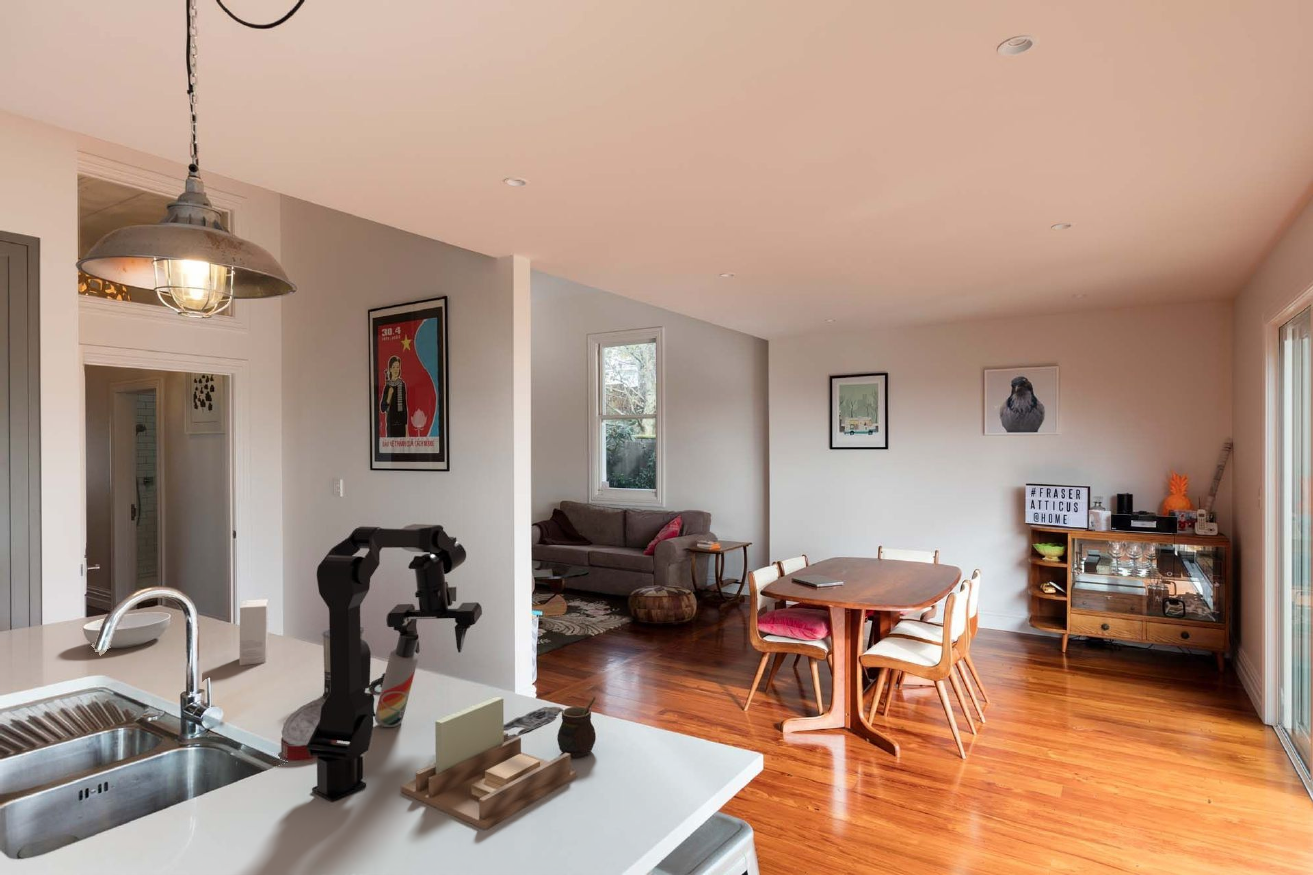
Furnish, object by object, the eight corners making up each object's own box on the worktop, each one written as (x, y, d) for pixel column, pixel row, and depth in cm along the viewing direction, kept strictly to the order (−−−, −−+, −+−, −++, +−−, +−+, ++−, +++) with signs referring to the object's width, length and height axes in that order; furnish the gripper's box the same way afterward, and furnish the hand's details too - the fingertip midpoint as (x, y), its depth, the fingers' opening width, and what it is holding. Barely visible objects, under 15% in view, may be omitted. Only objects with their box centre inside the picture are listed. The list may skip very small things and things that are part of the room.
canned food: (339, 768, 144) (357, 727, 142) (289, 783, 136) (307, 739, 134) (312, 729, 150) (329, 689, 148) (263, 741, 142) (281, 699, 140)
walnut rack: (485, 829, 113) (485, 803, 113) (401, 791, 125) (401, 768, 125) (576, 776, 130) (576, 754, 130) (494, 747, 142) (494, 727, 142)
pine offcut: (496, 804, 119) (496, 794, 119) (471, 793, 122) (471, 784, 122) (544, 777, 128) (544, 768, 127) (519, 768, 131) (519, 760, 131)
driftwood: (551, 708, 164) (550, 699, 164) (572, 715, 159) (572, 706, 159) (476, 741, 147) (475, 730, 147) (498, 749, 143) (497, 739, 143)
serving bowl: (166, 630, 229) (166, 608, 229) (175, 644, 213) (175, 621, 213) (81, 642, 216) (81, 619, 216) (84, 659, 200) (84, 634, 200)
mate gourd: (549, 752, 140) (549, 699, 140) (582, 741, 145) (582, 690, 145) (570, 765, 135) (570, 710, 134) (604, 753, 139) (603, 700, 139)
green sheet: (441, 787, 124) (441, 722, 124) (435, 785, 125) (435, 720, 125) (503, 757, 135) (503, 698, 135) (497, 755, 136) (497, 696, 136)
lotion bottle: (392, 731, 151) (414, 643, 148) (368, 721, 152) (389, 633, 149) (407, 718, 156) (429, 633, 153) (384, 708, 157) (405, 623, 154)
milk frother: (313, 698, 170) (312, 634, 169) (361, 676, 185) (360, 617, 184) (363, 705, 165) (363, 639, 165) (408, 682, 180) (408, 622, 180)
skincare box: (241, 657, 201) (241, 600, 200) (269, 654, 203) (268, 598, 203) (239, 666, 193) (238, 607, 193) (267, 662, 196) (266, 604, 196)
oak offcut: (505, 787, 121) (505, 778, 121) (485, 779, 124) (485, 770, 124) (540, 769, 127) (540, 760, 127) (519, 762, 130) (519, 753, 130)
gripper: (486, 567, 160) (492, 634, 163) (402, 569, 162) (410, 635, 165) (470, 587, 149) (477, 658, 152) (381, 589, 151) (390, 659, 154)
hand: (438, 652), depth 156 cm, fingers open, 9 cm apart
